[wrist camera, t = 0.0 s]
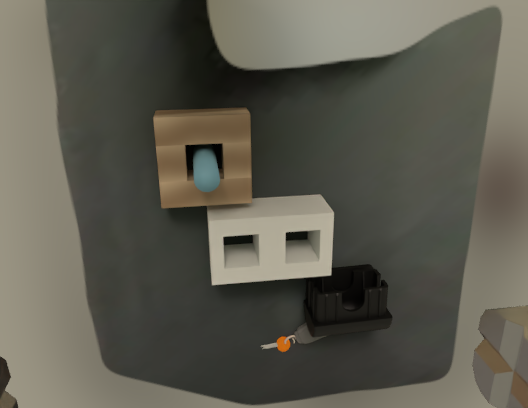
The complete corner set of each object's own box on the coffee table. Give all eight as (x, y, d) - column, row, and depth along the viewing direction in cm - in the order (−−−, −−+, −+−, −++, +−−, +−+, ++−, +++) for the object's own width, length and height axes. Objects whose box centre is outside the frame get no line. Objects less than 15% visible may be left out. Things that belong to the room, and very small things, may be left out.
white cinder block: (206, 201, 58) (208, 220, 53) (320, 194, 60) (334, 212, 54) (209, 260, 61) (212, 285, 56) (318, 252, 63) (331, 275, 57)
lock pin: (192, 142, 55) (193, 168, 46) (214, 141, 56) (219, 166, 46) (193, 163, 56) (194, 192, 47) (215, 162, 57) (220, 191, 47)
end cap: (302, 316, 66) (314, 347, 60) (302, 270, 64) (314, 298, 57) (372, 308, 68) (391, 338, 61) (375, 263, 65) (395, 289, 59)
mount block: (155, 110, 54) (153, 117, 50) (246, 107, 55) (250, 114, 51) (163, 195, 57) (161, 208, 53) (247, 190, 58) (252, 202, 55)
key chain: (330, 304, 67) (333, 310, 65) (340, 324, 68) (343, 330, 67) (246, 347, 67) (247, 354, 66) (258, 365, 69) (259, 372, 67)
